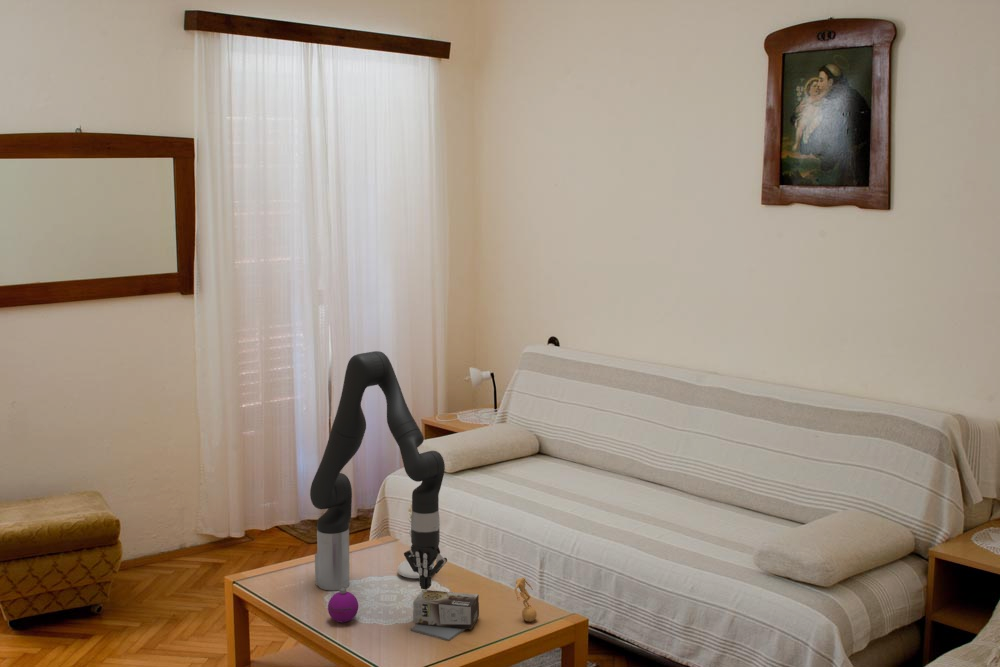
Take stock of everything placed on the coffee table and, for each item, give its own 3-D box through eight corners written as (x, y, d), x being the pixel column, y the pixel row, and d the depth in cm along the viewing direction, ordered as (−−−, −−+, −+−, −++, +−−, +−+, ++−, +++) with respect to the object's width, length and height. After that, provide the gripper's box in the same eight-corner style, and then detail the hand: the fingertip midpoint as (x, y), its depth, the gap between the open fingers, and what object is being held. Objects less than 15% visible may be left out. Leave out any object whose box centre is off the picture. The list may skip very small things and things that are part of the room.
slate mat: (410, 630, 266) (410, 628, 266) (433, 615, 275) (433, 613, 275) (448, 641, 260) (448, 638, 260) (471, 625, 269) (471, 623, 269)
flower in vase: (389, 576, 303) (388, 496, 299) (413, 564, 312) (413, 487, 308) (423, 586, 295) (422, 504, 292) (446, 574, 305) (447, 494, 301)
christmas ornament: (362, 616, 275) (362, 581, 273) (352, 628, 267) (351, 593, 265) (334, 613, 276) (334, 578, 275) (323, 626, 268) (322, 590, 267)
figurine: (528, 628, 268) (529, 585, 266) (508, 623, 271) (509, 581, 269) (542, 616, 275) (543, 575, 273) (523, 612, 278) (523, 570, 276)
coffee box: (412, 624, 268) (471, 630, 265) (412, 601, 267) (471, 607, 264) (422, 610, 277) (479, 616, 274) (422, 588, 276) (479, 594, 273)
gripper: (396, 525, 266) (397, 588, 269) (438, 534, 260) (438, 598, 262) (412, 517, 273) (413, 578, 275) (454, 526, 266) (453, 588, 269)
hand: (425, 588), depth 269 cm, fingers closed
